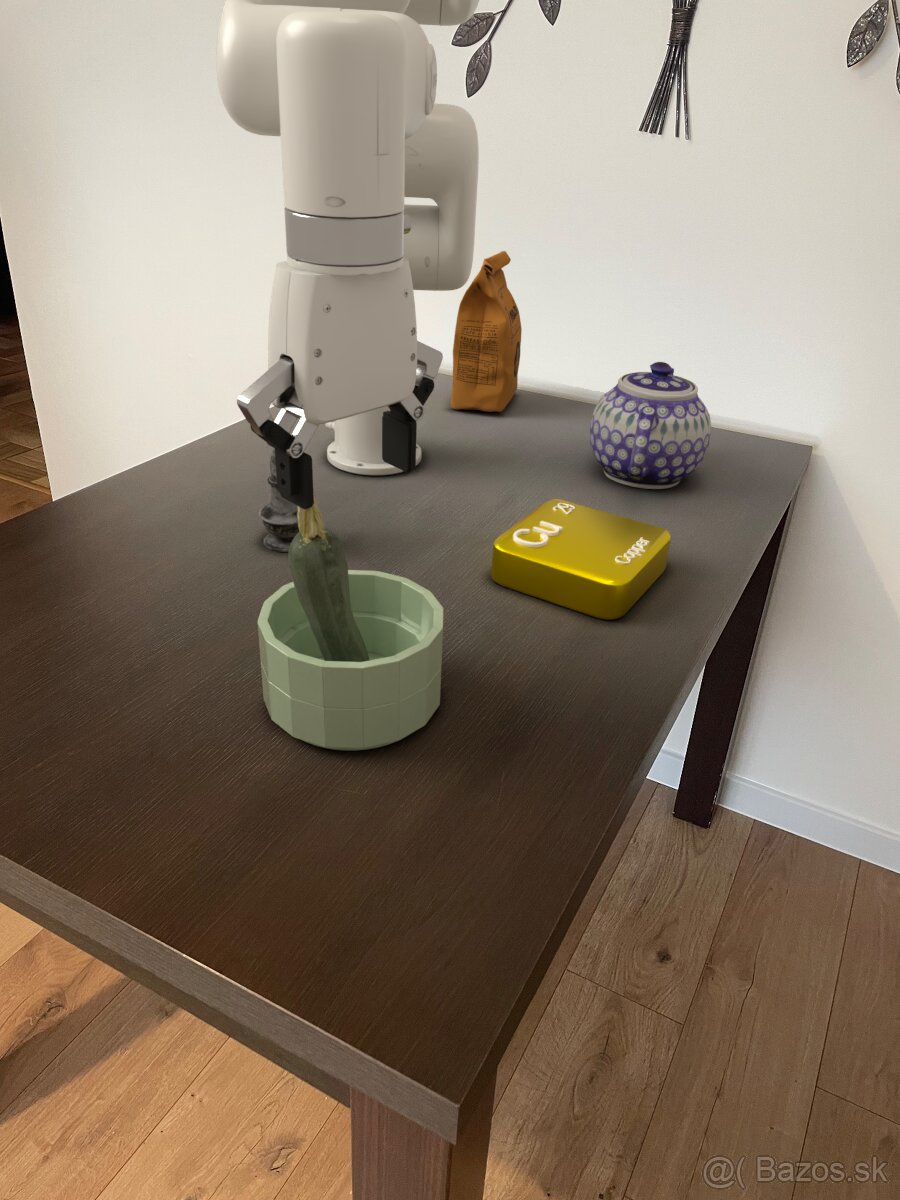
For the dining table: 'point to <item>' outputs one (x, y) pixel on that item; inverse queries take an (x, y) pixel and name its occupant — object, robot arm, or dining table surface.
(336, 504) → the dining table surface
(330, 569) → the vegetable
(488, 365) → the coffee package
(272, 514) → the salt shaker
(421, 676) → the bowl
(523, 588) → the element tile
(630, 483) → the teapot
